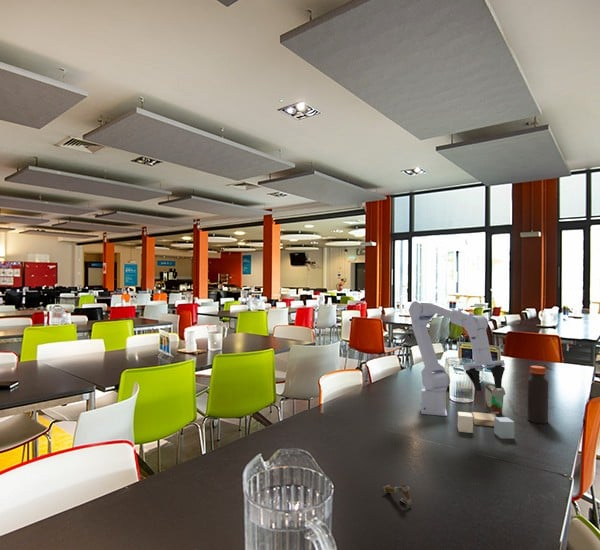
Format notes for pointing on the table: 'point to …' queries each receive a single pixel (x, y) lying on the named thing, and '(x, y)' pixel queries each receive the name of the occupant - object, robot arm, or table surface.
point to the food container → (494, 399)
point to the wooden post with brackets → (400, 489)
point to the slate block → (504, 427)
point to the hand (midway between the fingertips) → (488, 389)
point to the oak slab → (483, 419)
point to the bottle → (537, 396)
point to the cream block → (465, 422)
